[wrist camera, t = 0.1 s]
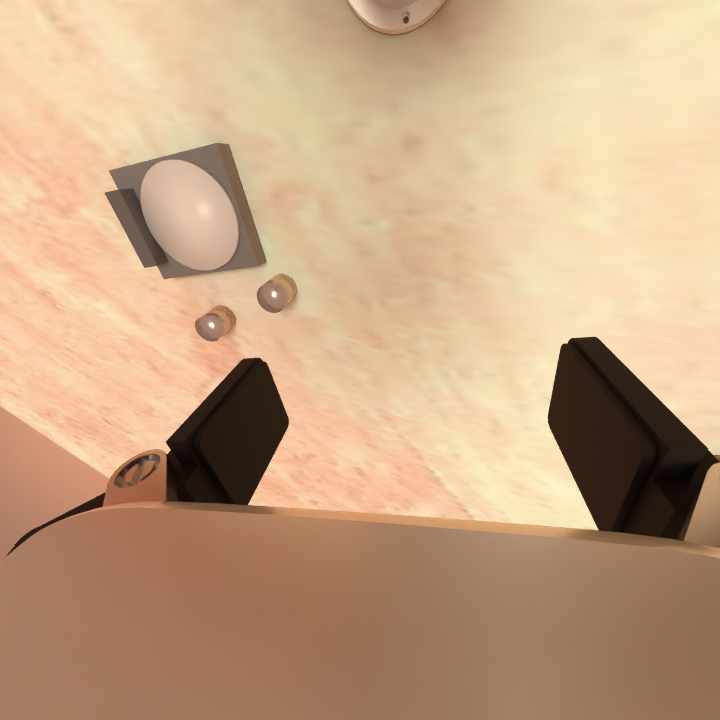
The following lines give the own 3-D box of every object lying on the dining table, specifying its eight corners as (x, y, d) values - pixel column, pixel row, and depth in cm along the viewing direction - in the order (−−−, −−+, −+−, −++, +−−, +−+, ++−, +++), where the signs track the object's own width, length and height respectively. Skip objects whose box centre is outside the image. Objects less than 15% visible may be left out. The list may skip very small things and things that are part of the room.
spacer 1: (208, 306, 54) (190, 318, 50) (230, 304, 53) (213, 316, 49) (218, 329, 56) (202, 342, 52) (239, 327, 55) (224, 340, 51)
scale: (124, 170, 44) (91, 171, 39) (228, 144, 40) (204, 141, 35) (174, 273, 51) (151, 284, 47) (266, 260, 47) (250, 270, 43)
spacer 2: (267, 275, 49) (252, 286, 45) (292, 272, 48) (280, 282, 43) (275, 301, 51) (262, 313, 47) (300, 299, 50) (288, 311, 46)
